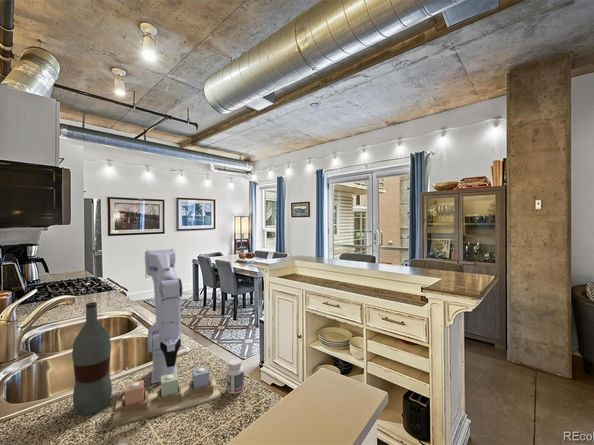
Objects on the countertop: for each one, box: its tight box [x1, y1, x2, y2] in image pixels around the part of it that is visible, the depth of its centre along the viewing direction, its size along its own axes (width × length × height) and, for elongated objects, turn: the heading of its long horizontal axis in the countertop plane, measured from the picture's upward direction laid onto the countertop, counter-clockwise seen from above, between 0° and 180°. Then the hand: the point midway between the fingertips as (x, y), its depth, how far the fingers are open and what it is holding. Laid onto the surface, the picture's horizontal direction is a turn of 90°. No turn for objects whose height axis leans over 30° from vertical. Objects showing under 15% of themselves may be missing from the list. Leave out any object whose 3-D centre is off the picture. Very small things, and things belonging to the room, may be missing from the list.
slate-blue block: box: [192, 365, 210, 389], centre depth 90 cm, size 4×4×5 cm
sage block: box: [160, 372, 179, 398], centre depth 87 cm, size 4×4×5 cm
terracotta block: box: [124, 379, 145, 407], centre depth 83 cm, size 4×4×5 cm
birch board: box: [111, 375, 222, 428], centre depth 87 cm, size 11×28×3 cm, turn 116°
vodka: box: [71, 301, 113, 417], centre depth 84 cm, size 9×9×30 cm
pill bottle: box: [226, 358, 245, 395], centre depth 92 cm, size 5×5×9 cm
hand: (170, 365), depth 87 cm, fingers closed
